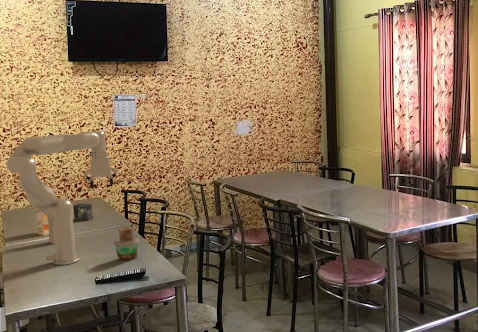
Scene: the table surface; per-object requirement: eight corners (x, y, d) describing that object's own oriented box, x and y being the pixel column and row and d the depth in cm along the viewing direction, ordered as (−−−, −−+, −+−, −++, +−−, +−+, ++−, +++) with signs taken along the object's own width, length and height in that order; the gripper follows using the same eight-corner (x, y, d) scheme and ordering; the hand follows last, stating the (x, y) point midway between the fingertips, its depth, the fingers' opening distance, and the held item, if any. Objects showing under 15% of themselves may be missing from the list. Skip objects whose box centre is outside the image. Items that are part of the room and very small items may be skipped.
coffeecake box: (44, 236, 321) (40, 204, 319) (37, 234, 326) (34, 203, 323) (65, 230, 333) (62, 199, 331) (58, 228, 337) (55, 198, 335)
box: (74, 220, 359) (72, 205, 358) (79, 218, 365) (78, 203, 364) (87, 221, 356) (86, 205, 355) (93, 218, 362) (91, 203, 361)
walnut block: (121, 241, 260) (120, 230, 259) (119, 239, 265) (118, 228, 264) (132, 240, 262) (132, 229, 261) (130, 237, 267) (129, 226, 266)
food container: (115, 262, 260) (113, 242, 259) (115, 259, 266) (113, 239, 265) (141, 259, 263) (139, 239, 262) (140, 256, 269) (138, 236, 268)
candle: (63, 245, 297) (60, 210, 295) (47, 243, 304) (43, 208, 302) (73, 242, 303) (70, 207, 301) (57, 239, 311) (53, 206, 308)
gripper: (83, 157, 273) (86, 190, 275) (117, 154, 280) (119, 186, 282) (81, 155, 280) (84, 188, 282) (114, 152, 286) (117, 184, 289)
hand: (102, 187), depth 282 cm, fingers open, 9 cm apart
